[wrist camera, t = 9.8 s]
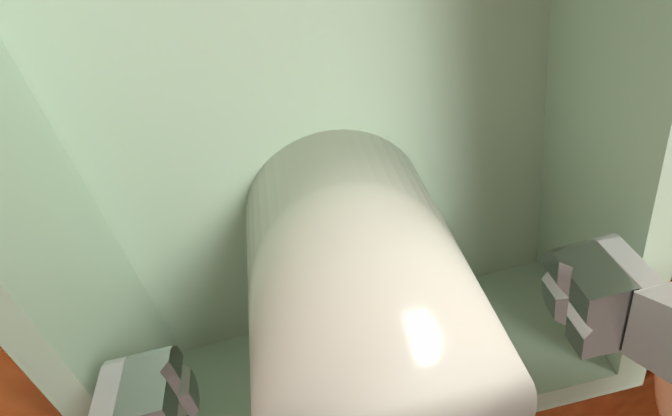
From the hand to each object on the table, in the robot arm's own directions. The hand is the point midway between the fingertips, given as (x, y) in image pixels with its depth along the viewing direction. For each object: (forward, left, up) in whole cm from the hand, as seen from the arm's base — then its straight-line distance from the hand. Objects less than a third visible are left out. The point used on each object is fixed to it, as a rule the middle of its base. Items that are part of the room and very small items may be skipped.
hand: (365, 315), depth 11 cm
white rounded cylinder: (0, 0, -4) cm, 4 cm away
